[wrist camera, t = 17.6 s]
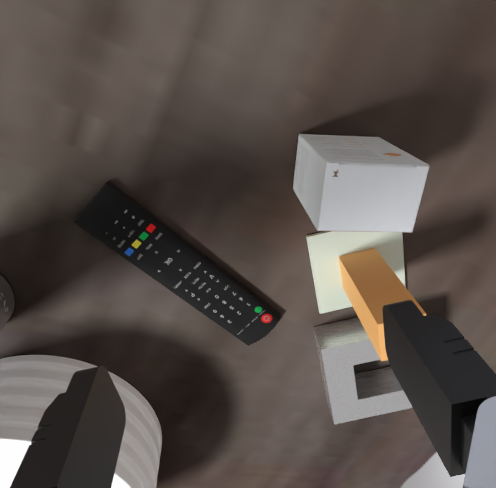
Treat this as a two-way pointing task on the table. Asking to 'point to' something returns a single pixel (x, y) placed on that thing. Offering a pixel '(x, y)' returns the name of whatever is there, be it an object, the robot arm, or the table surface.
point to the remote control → (176, 264)
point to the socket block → (355, 385)
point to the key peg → (372, 292)
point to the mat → (341, 243)
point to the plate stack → (42, 395)
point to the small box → (358, 183)
